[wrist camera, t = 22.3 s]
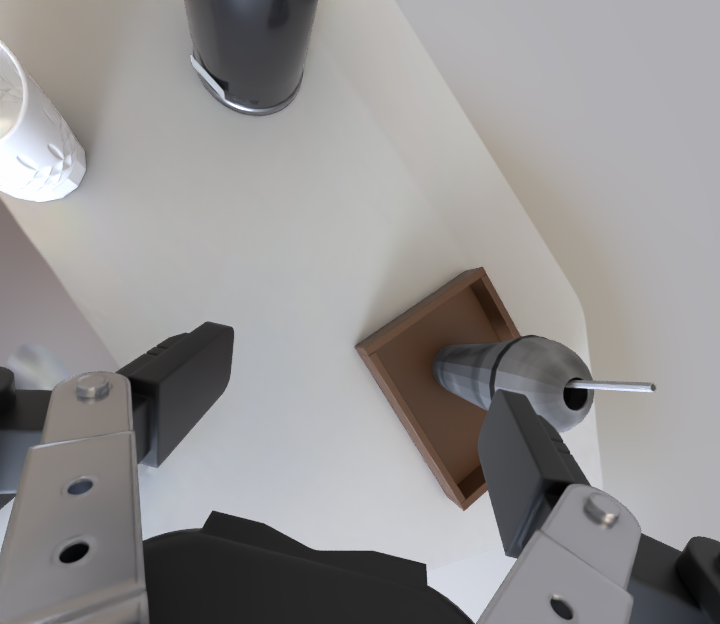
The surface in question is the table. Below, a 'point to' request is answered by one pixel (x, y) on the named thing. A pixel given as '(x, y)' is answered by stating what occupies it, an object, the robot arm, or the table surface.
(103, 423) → the robot arm
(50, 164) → the white cup
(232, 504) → the table surface
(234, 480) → the table surface
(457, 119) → the table surface
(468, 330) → the tray
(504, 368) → the beverage cup
